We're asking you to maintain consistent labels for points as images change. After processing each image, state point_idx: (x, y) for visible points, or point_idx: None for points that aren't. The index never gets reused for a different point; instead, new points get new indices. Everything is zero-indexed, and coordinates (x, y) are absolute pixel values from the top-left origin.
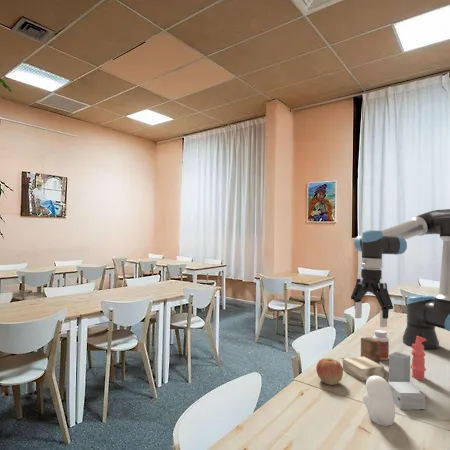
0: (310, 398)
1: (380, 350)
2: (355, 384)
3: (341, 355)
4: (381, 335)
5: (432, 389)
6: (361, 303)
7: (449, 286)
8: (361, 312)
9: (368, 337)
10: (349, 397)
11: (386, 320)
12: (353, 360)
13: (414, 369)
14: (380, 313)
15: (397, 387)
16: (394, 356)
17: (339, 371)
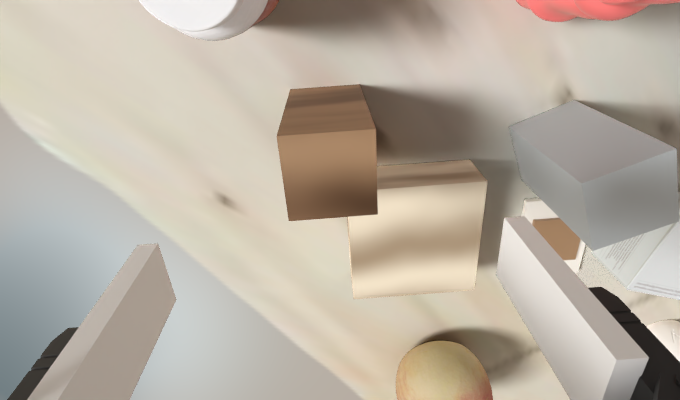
0: None
1: (268, 11)
2: (475, 293)
3: (186, 185)
4: (242, 2)
5: (656, 29)
6: (69, 389)
7: None
8: (133, 284)
9: (284, 162)
10: (534, 348)
11: (555, 261)
12: (382, 268)
13: (566, 19)
14: (567, 383)
15: (675, 289)
16: (622, 238)
17: (491, 390)
